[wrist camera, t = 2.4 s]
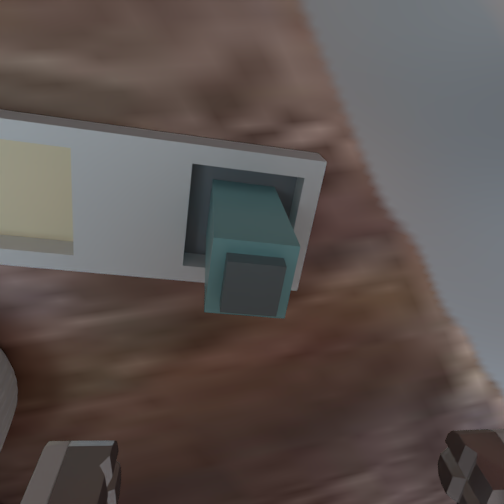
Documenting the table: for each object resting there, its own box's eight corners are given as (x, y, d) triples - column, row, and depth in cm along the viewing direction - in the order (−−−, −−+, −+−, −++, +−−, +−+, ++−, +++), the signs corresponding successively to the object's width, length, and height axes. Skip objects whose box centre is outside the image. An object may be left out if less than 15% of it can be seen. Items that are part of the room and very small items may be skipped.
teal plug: (264, 242, 26) (287, 329, 19) (206, 236, 26) (203, 322, 18) (274, 186, 25) (304, 255, 17) (212, 179, 24) (213, 246, 16)
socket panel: (291, 274, 28) (297, 291, 26) (-42, 243, 25) (-61, 259, 23) (318, 153, 24) (327, 162, 23) (-64, 100, 22) (-89, 106, 20)
